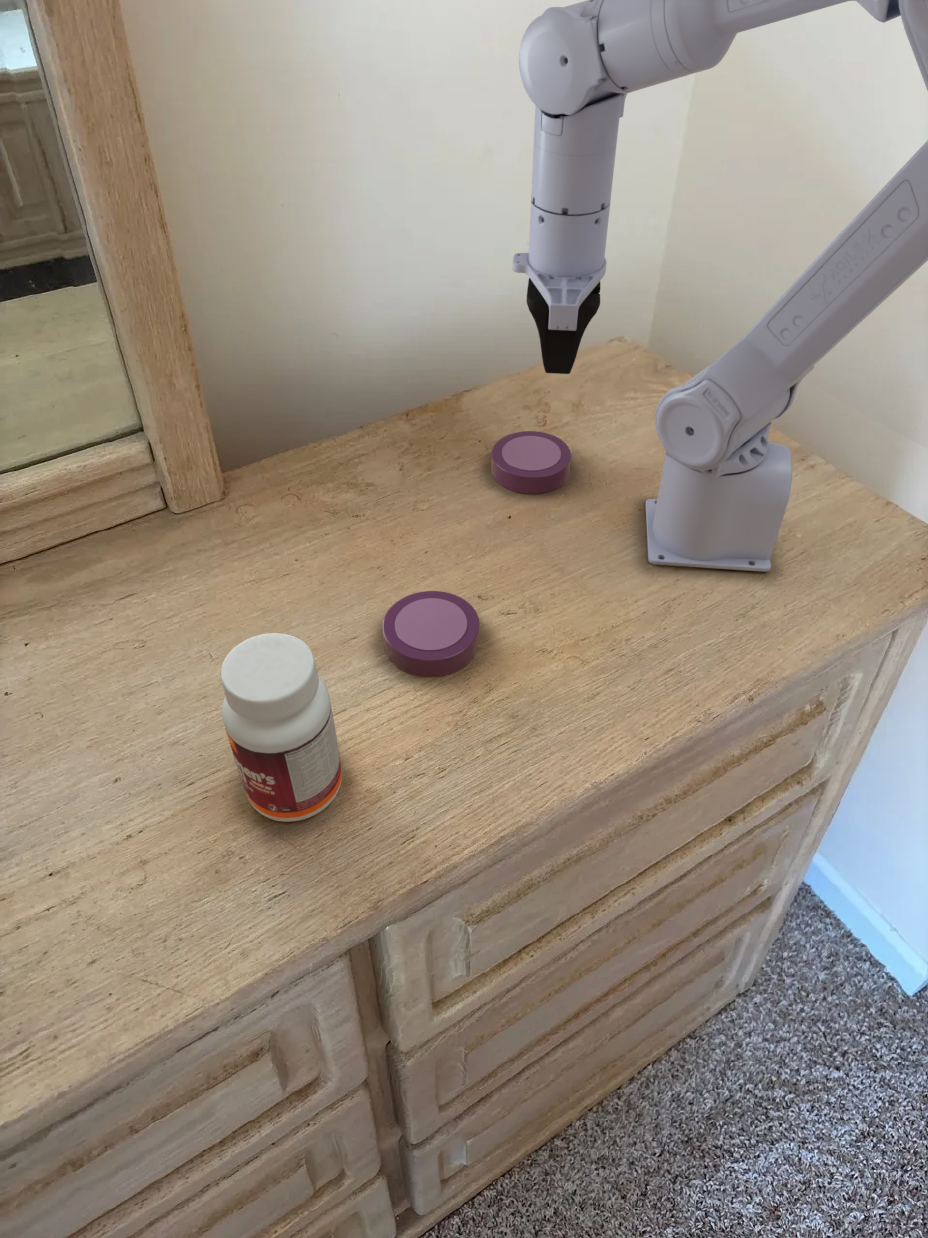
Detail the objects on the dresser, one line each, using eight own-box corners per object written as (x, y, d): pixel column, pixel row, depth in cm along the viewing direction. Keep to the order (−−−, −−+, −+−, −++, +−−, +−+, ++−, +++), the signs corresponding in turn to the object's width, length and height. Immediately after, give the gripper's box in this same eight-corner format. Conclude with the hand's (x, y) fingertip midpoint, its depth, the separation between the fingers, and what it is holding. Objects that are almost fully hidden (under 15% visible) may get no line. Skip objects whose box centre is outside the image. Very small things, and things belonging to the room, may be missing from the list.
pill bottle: (226, 788, 57) (185, 670, 49) (298, 729, 60) (271, 609, 52) (292, 844, 54) (260, 729, 46) (364, 778, 58) (346, 660, 50)
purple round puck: (570, 449, 83) (572, 432, 81) (568, 496, 78) (570, 479, 77) (494, 445, 83) (495, 427, 82) (487, 491, 79) (488, 473, 77)
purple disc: (483, 610, 68) (483, 593, 67) (474, 681, 63) (474, 663, 62) (392, 604, 69) (390, 586, 67) (376, 673, 64) (374, 655, 63)
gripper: (520, 162, 70) (514, 324, 80) (509, 240, 60) (503, 415, 70) (611, 164, 70) (594, 327, 80) (615, 244, 60) (595, 419, 69)
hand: (557, 369), depth 75 cm, fingers closed
